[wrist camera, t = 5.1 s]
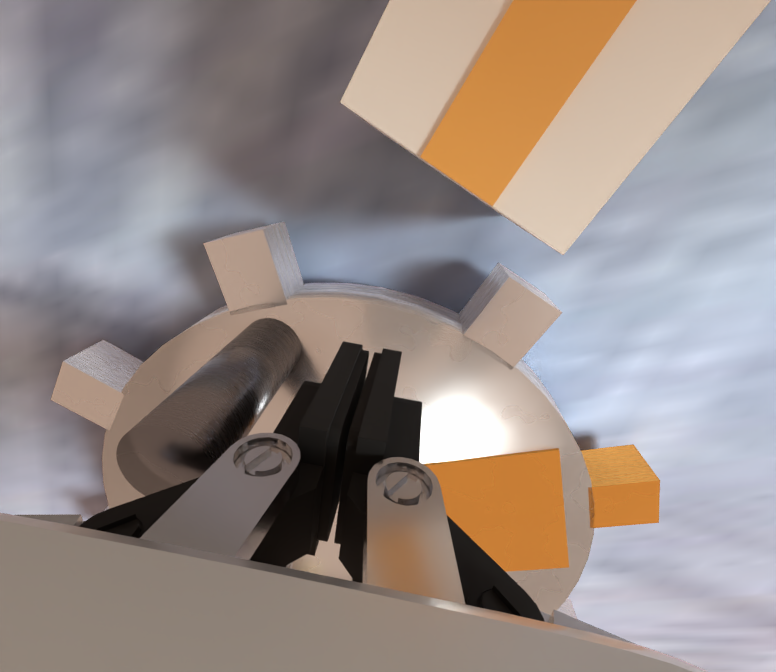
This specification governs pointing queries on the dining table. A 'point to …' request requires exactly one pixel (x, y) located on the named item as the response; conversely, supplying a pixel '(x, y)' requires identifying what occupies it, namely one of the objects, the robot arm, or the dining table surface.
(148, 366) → the sprocket
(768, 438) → the dining table surface
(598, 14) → the link block
